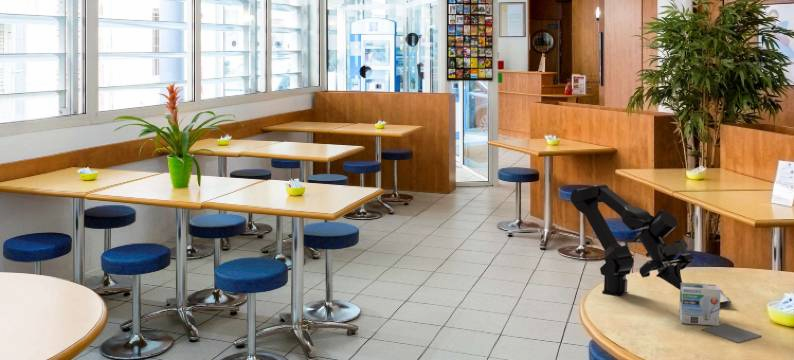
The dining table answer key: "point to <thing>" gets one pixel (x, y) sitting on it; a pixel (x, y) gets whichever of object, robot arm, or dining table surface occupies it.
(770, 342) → the dining table surface
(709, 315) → the light bulb box
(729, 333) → the rubber mat
